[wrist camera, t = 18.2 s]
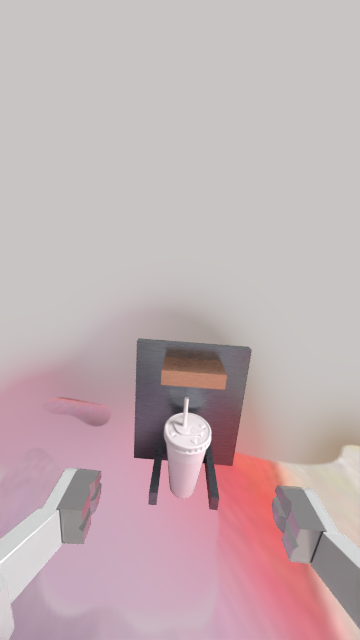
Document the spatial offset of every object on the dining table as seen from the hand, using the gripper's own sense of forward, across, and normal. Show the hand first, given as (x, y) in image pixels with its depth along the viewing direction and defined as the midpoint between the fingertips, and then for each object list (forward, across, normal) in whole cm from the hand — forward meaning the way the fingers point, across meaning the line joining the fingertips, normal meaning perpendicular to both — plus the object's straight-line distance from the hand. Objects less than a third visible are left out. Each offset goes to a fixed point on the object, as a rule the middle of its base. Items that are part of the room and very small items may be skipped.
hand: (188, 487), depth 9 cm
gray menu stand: (+15, -2, +20) cm, 26 cm away
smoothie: (+15, -2, +21) cm, 26 cm away
